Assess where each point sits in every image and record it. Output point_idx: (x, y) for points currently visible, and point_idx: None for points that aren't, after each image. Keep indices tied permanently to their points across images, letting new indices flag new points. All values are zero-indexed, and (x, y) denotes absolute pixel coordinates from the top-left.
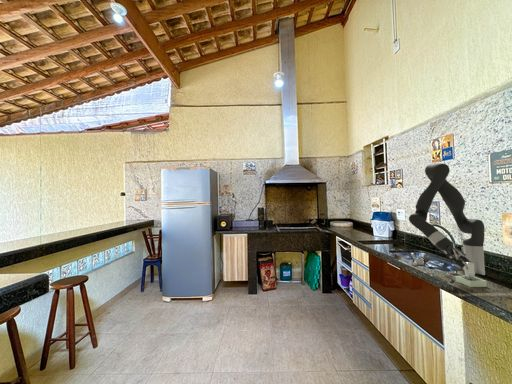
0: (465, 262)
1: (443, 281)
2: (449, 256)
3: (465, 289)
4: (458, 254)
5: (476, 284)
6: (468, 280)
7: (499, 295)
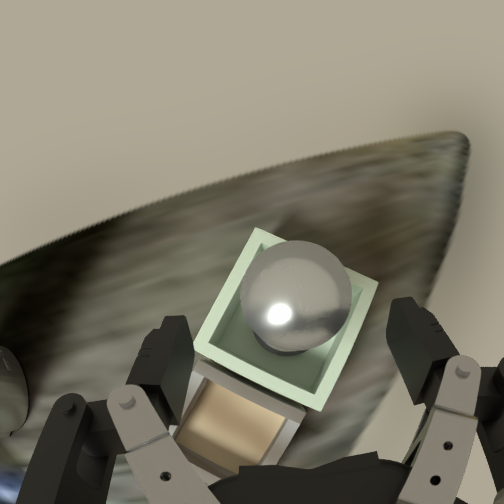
0: (313, 330)
1: None
2: (497, 453)
3: None
4: (268, 466)
5: None
6: (366, 297)
7: (322, 179)
